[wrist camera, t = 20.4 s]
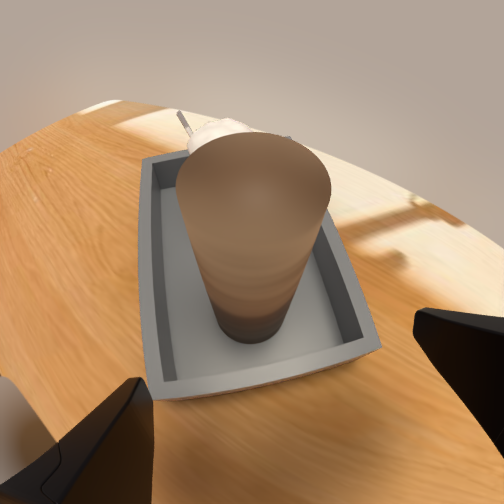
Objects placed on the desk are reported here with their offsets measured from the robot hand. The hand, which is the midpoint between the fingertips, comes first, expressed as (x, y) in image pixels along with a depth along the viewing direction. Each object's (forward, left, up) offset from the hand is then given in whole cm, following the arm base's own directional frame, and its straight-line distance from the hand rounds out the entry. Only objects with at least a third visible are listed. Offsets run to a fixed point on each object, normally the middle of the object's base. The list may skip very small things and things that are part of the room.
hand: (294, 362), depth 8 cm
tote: (+7, +7, -12) cm, 16 cm away
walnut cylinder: (+4, +4, -11) cm, 12 cm away
